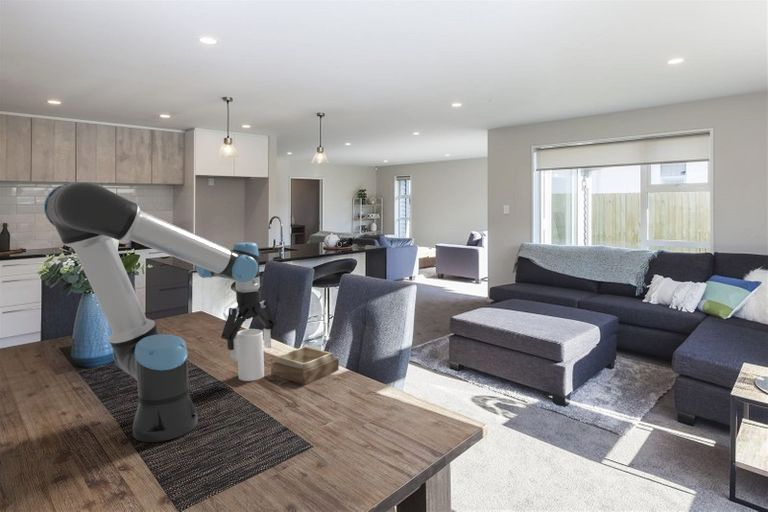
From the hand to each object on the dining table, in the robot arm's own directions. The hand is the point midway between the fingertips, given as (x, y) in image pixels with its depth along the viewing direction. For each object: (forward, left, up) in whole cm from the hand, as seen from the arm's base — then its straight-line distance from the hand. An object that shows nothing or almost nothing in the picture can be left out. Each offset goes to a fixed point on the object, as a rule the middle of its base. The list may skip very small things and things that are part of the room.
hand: (251, 353), depth 148 cm
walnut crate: (+13, -12, -9) cm, 20 cm away
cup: (0, 0, -9) cm, 9 cm away
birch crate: (+13, -12, -8) cm, 19 cm away
